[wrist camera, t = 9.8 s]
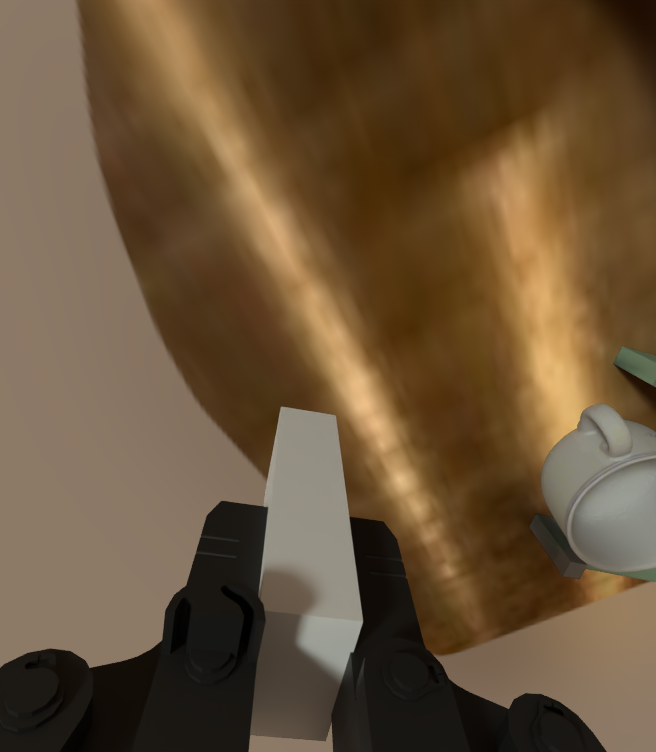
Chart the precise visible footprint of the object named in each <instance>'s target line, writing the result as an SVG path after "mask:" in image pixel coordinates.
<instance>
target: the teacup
mask: <svg viewBox="0 0 656 752" xmlns="http://www.w3.org/2000/svg"><path fill="white" fill-rule="evenodd" d="M541 488H542V493H543V496H544V499H545V502H546V504H547V506H548V508H549V510H550V512H551V513H552V515H553V517H554V518H555V520H556V522H557V523H558V525H559V527H560V528H561V530H562V531H563V533H564V535H565V536H566V538H567V540H568V543H569V545H570V547H571V549H572V550H573V551H574V552H575V554H576V555H577V556H578V557H579V558H580V559H581V560H583V561H584V562H586V563H587V564H589V565H591V566H593V567H595V568H598V569H601V570H605V571H611V572H634V571H640V570H646V569H652V568H656V432H655V431H654V430H652V429H650V428H648V427H646V426H644V425H641V424H639V423H636V422H632V421H627V420H623V419H622V418H621V416H620V415H619V414H618V413H617V412H616V411H615V410H614V409H613V408H612V407H610V406H608V405H607V404H601V403H600V404H595V405H593V406H590V407H588V408H587V409H585V410H584V411H583V412H582V414H581V417H580V421H579V423H578V425H577V429H575V430H573V431H572V432H570V433H569V434H567V435H566V436H565V437H563V438H562V439H561V440H560V441H559V442H558V443H557V444H556V445H555V446H554V447H553V449H552V450H551V451H550V453H549V454H548V456H547V458H546V460H545V463H544V465H543V468H542V473H541Z"/></svg>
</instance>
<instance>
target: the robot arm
mask: <svg viewBox="0 0 656 752" xmlns="http://www.w3.org/2000/svg"><path fill="white" fill-rule="evenodd" d="M401 560H402V558H401V554H400V550H399V546H398V542H397V539H396V538H395V536H394V535H393V534H392V532H391V531H390V530H389V528H388V527H387V526H386V524H385V523H384V522H383V521H376V520H369V519H362V518H354V517H349V512H348V505H347V497H346V490H345V482H344V475H343V467H342V460H341V452H340V445H339V437H338V430H337V422H336V415H329V414H323V413H317V412H311V411H305V410H299V409H293V408H287V407H281V410H280V416H279V421H278V427H277V432H276V437H275V443H274V448H273V453H272V459H271V464H270V470H269V475H268V480H267V486H266V492H265V499H264V507H263V506H256V505H248V504H241V503H234V502H227V501H221V502H220V503H219V504H218V505H217V506H216V507H215V508H214V509H213V510H212V511H211V512H210V513H209V514H208V515H207V517H206V520H205V524H204V527H203V530H202V534H201V538H200V541H199V544H198V547H197V551H196V555H195V558H194V561H193V564H192V568H191V572H190V575H189V578H188V582H187V585H186V586H185V587H184V588H182V589H181V590H180V591H179V592H177V593H176V594H175V595H174V596H173V598H172V600H171V601H170V603H169V605H168V607H167V608H166V611H165V620H164V630H163V639H162V641H161V642H160V643H159V644H157V645H156V646H155V647H154V648H152V649H151V650H149V651H147V652H145V653H143V654H142V655H140V656H138V657H135V658H132V659H128V660H125V661H122V662H117V663H112V664H107V665H102V666H97V667H93V668H89V666H88V664H87V663H86V661H85V660H84V659H82V658H81V657H79V656H77V655H76V654H74V653H73V652H71V651H65V650H57V649H46V650H41V651H36V652H30V653H27V654H25V655H23V656H20V657H18V658H16V659H14V660H12V661H10V662H8V663H6V664H4V665H3V666H2V667H1V668H0V752H248V750H249V740H250V735H256V736H269V737H281V738H293V739H306V740H318V741H326V738H327V735H328V732H329V729H330V725H331V722H332V734H333V735H332V737H333V752H606V750H605V749H604V747H603V746H602V745H601V743H600V742H599V740H598V739H597V738H596V736H595V735H594V734H593V732H592V731H591V730H590V729H589V728H588V727H587V725H586V724H585V723H584V722H583V721H582V720H581V719H580V718H579V716H578V715H576V714H575V713H574V712H572V711H571V710H570V709H568V708H567V707H566V706H564V705H563V704H562V703H560V702H559V701H556V700H554V699H552V698H549V697H547V696H544V695H542V694H528V693H525V694H523V695H521V696H519V697H518V698H516V699H514V700H513V702H512V704H511V706H510V708H509V709H507V708H505V707H503V706H500V705H498V704H496V703H493V702H491V701H489V700H486V699H484V698H481V697H479V696H477V695H475V694H472V693H470V692H468V691H466V690H464V689H463V688H461V687H459V686H457V685H456V684H454V683H453V682H452V681H451V680H449V678H448V676H447V674H446V672H445V670H444V668H443V666H442V665H441V663H440V662H439V661H438V660H437V659H436V658H435V657H434V656H433V654H432V653H431V652H430V651H428V650H427V649H426V648H425V645H424V642H423V639H422V635H421V631H420V627H419V623H418V619H417V615H416V612H415V608H414V604H413V600H412V596H411V592H410V588H409V585H408V581H407V579H406V573H405V569H404V565H403V562H401Z"/></svg>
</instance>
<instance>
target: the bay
mask: <svg viewBox="0 0 656 752" xmlns="http://www.w3.org/2000/svg"><path fill="white" fill-rule="evenodd" d="M614 364H615V365H617V366H619V367H620V368H622V369H624V370H626V371H628V372H629V373H631V374H633V375H635V376H636V377H638V378H640V379H642V380H644V381H645V382H647V383H649V384H651V385H653V386H654V387H656V355H652V354H648V353H645V352H641V351H637V350H634V349H630V348H626V347H622V349H621V350H620V352H619V354H618V356H617V358H616V360H615V362H614ZM529 527H530V529H531V530H532V532H533V533H534V535H535V536H536V538H537V539H538V541H539V542H540V544H541V545H542V547H543V548H544V549H545V551H546V552H547V554H548V555H549V557H550V558H551V560H552V561H553V563H554V564H555V566H556V567H557V569H558V570H559V572H560V573H561V575H562V576H564V577H569V578H575V579H580V577H581V575H582V574H583V572H584V570H585V569H590V570H595V571H600V572H606V573H611V574H616V575H621V576H627V577H632V578H637V579H642V580H648V581H653V582H656V568H652V569H646V570H640V571H634V572H611V571H605V570H601V569H598V568H595V567H593V566H591V565H589V564H587V563H586V562H584V561H583V560H581V559H580V558H579V557H578V556H577V555H576V554H575V552H574V551H573V550H572V549H571V547H570V545H569V543H568V540H567V538H566V536H565V535H564V533H563V531H562V530H561V528H560V527H559V525H558V523H557V522H556V520H555V518H554V517H549V516H545V515H540V514H535V516H534V518H533V520H532V522H531V524H530V526H529Z"/></svg>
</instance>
